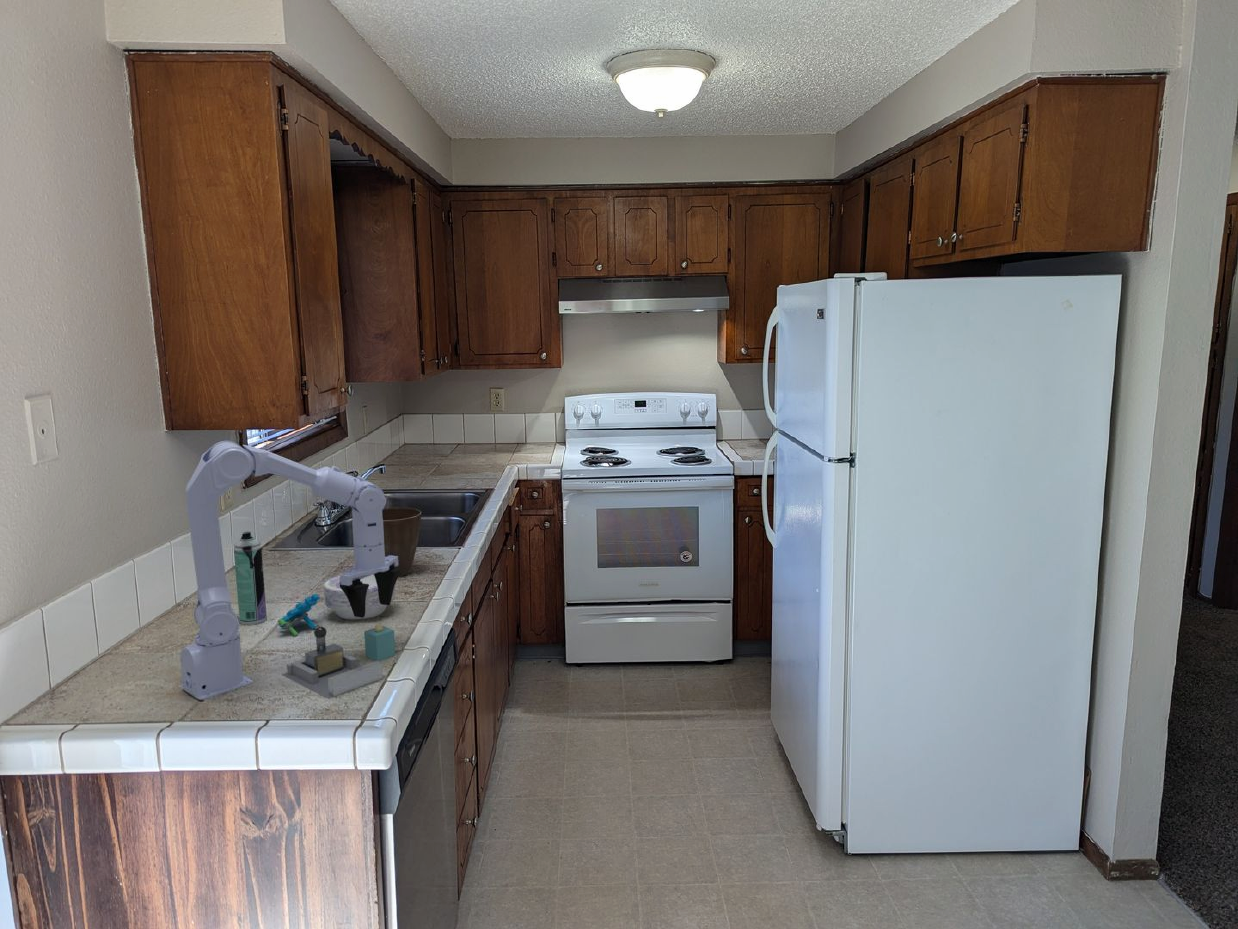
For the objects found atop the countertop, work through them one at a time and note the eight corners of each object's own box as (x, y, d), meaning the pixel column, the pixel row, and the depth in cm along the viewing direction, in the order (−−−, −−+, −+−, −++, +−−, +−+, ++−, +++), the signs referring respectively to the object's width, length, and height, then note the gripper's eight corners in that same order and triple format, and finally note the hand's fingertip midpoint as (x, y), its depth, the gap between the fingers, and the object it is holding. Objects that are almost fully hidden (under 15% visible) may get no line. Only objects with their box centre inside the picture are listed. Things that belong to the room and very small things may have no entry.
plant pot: (363, 584, 211) (359, 521, 208) (366, 567, 225) (363, 509, 223) (424, 579, 214) (421, 518, 212) (423, 563, 229) (421, 506, 226)
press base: (328, 700, 146) (327, 682, 146) (281, 676, 156) (280, 659, 156) (387, 678, 155) (386, 661, 155) (339, 656, 165) (338, 640, 165)
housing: (377, 663, 162) (375, 632, 161) (365, 658, 165) (363, 627, 164) (395, 657, 165) (393, 626, 164) (383, 651, 168) (381, 621, 167)
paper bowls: (347, 600, 199) (345, 568, 197) (407, 604, 196) (406, 571, 194) (311, 622, 184) (309, 587, 183) (376, 627, 181) (374, 592, 180)
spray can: (271, 620, 185) (264, 532, 182) (246, 627, 181) (239, 536, 178) (260, 614, 189) (253, 528, 186) (235, 621, 185) (228, 532, 182)
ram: (316, 678, 154) (313, 635, 153) (304, 672, 157) (301, 630, 155) (345, 668, 159) (342, 626, 157) (333, 662, 161) (331, 621, 160)
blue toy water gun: (303, 609, 187) (322, 584, 182) (321, 629, 187) (340, 605, 182) (265, 632, 178) (284, 607, 173) (283, 653, 177) (303, 628, 172)
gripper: (359, 555, 155) (363, 625, 157) (409, 536, 168) (412, 601, 171) (329, 550, 158) (334, 620, 160) (381, 533, 171) (384, 597, 173)
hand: (372, 610), depth 166 cm, fingers open, 7 cm apart
